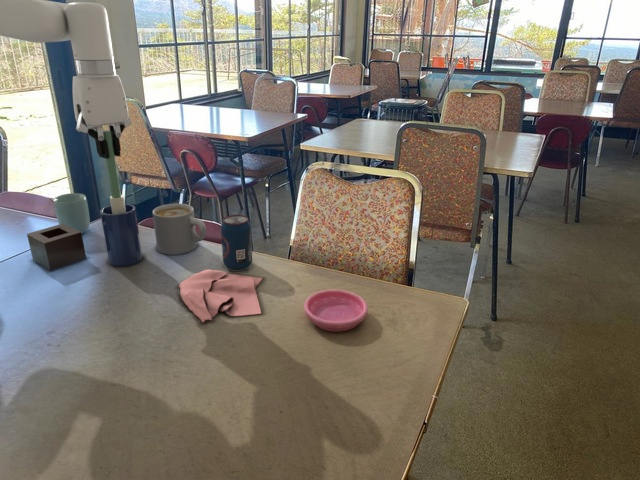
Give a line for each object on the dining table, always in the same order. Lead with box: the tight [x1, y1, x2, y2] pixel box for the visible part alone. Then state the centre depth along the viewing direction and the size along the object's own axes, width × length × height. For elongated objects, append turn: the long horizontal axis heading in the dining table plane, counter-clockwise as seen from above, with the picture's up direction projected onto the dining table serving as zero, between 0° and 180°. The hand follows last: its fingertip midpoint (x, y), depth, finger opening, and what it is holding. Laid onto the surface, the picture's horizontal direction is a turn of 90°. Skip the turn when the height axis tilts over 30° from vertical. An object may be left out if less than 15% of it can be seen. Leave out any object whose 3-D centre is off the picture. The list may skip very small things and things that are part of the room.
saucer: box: [303, 289, 369, 333], centre depth 94 cm, size 12×12×3 cm
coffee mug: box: [152, 203, 207, 255], centre depth 122 cm, size 13×10×10 cm
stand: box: [26, 224, 87, 272], centre depth 115 cm, size 9×9×7 cm
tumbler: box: [99, 203, 143, 267], centre depth 114 cm, size 8×8×13 cm
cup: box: [52, 192, 91, 234], centre depth 129 cm, size 8×8×10 cm
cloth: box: [178, 268, 263, 323], centre depth 101 cm, size 20×22×2 cm
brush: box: [103, 129, 126, 214], centre depth 108 cm, size 3×3×20 cm
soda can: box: [220, 214, 253, 272], centre depth 113 cm, size 7×7×12 cm
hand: (109, 155), depth 107 cm, fingers closed on brush, 2 cm apart
